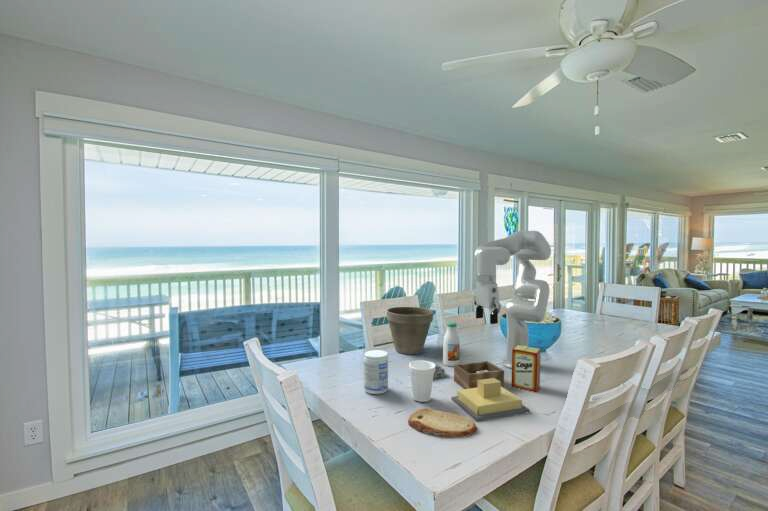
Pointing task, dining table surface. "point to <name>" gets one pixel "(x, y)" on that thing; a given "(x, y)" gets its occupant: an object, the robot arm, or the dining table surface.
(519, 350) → the baking soda box
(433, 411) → the slice of bread
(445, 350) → the milk bottle
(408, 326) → the plant pot
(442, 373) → the egg carton
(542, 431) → the dining table surface
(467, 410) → the mat
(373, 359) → the supplement tub
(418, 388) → the cup
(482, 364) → the box
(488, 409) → the lid
